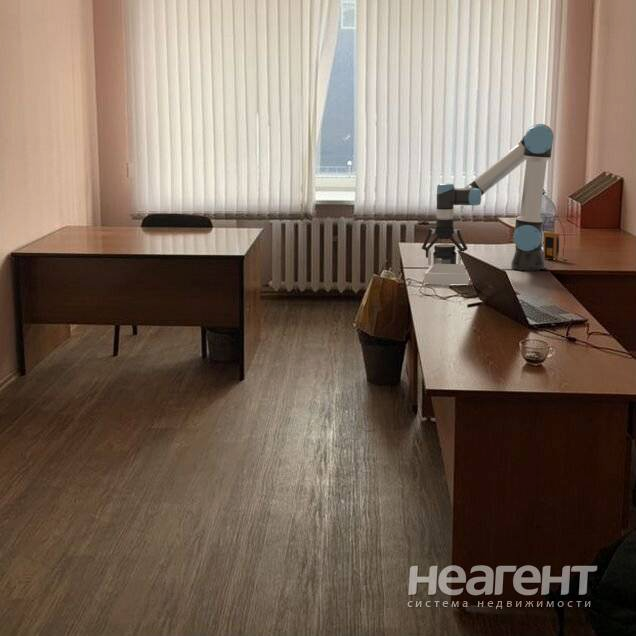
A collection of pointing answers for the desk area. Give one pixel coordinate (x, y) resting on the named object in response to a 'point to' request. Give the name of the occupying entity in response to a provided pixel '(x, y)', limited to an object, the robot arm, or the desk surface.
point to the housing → (446, 274)
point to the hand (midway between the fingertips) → (444, 265)
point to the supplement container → (444, 254)
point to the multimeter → (551, 244)
